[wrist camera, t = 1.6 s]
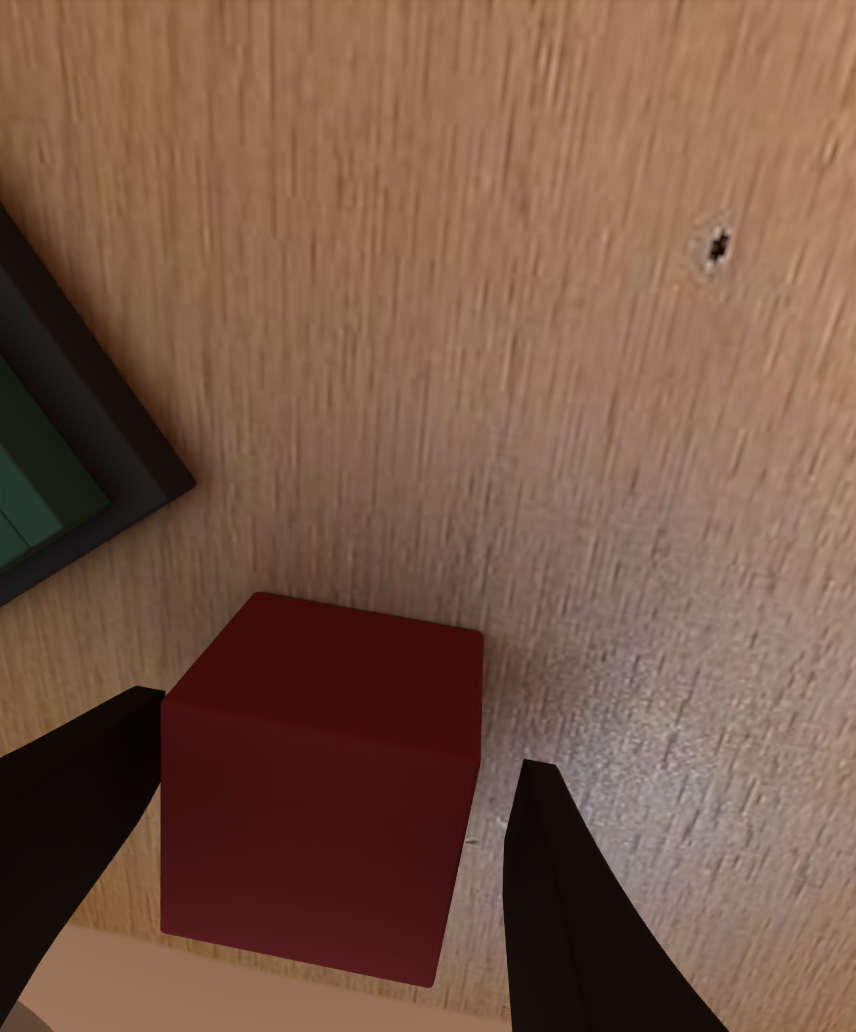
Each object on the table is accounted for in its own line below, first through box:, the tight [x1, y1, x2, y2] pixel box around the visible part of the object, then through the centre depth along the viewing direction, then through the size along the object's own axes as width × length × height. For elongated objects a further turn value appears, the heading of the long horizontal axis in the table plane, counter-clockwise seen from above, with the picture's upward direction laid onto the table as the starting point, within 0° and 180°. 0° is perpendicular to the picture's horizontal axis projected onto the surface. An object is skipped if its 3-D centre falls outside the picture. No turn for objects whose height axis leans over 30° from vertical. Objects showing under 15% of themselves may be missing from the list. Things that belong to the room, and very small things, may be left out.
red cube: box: [161, 592, 484, 988], centre depth 12 cm, size 5×5×4 cm
